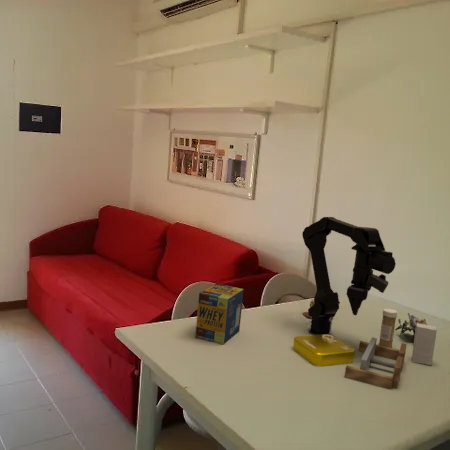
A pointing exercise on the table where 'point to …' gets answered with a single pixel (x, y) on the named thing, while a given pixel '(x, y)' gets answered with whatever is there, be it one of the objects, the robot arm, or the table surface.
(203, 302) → the protein box
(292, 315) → the table surface
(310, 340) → the element tile
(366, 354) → the pusher
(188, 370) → the table surface
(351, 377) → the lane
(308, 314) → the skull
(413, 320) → the passion flower
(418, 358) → the skincare box
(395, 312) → the sprinkles bottle
